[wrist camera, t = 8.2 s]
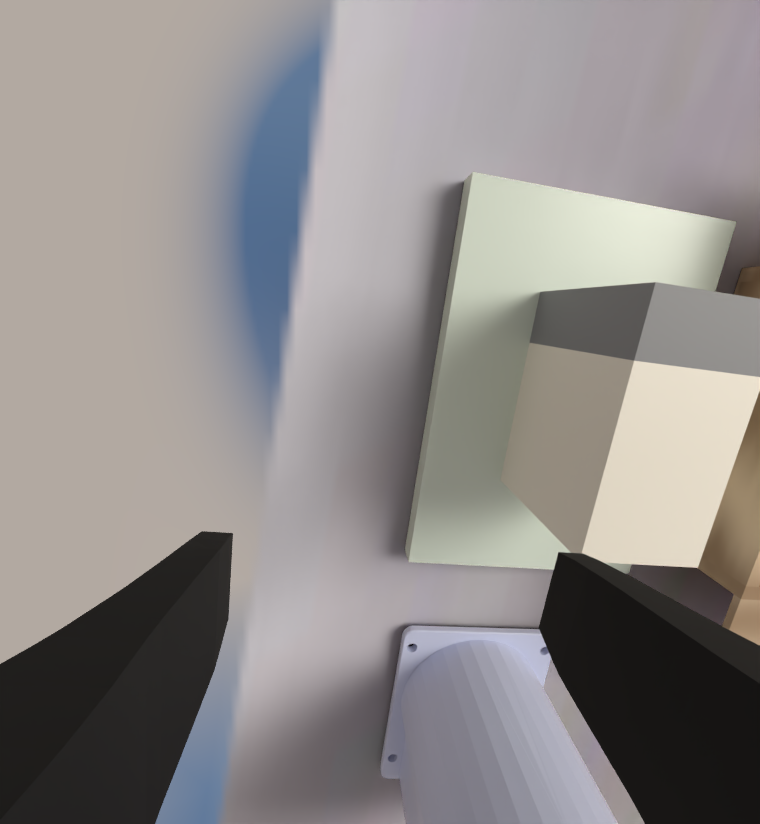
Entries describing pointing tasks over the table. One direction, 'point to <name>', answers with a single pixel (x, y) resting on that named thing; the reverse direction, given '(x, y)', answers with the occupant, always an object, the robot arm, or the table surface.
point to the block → (633, 417)
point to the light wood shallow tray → (740, 518)
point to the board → (524, 346)
